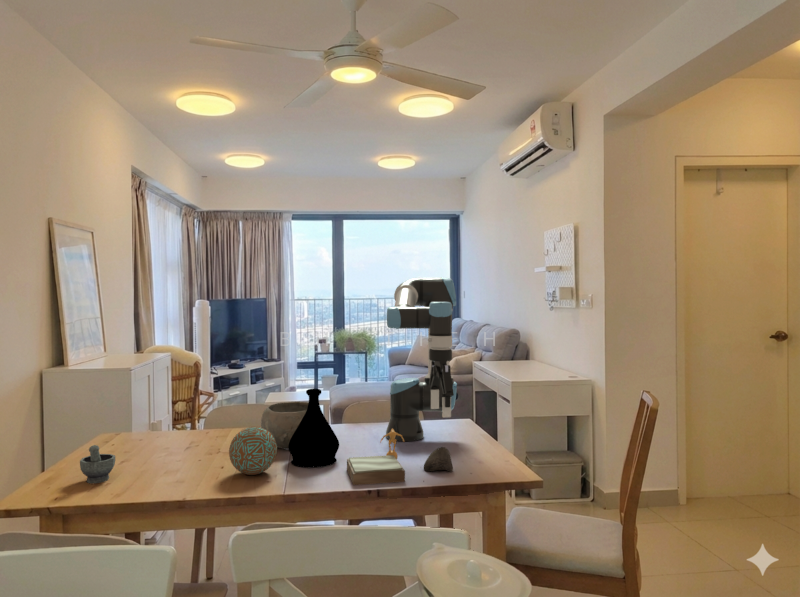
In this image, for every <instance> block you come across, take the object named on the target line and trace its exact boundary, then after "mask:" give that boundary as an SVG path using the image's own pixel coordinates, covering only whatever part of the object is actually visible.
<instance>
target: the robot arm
mask: <svg viewBox="0 0 800 597" xmlns="http://www.w3.org/2000/svg"><path fill="white" fill-rule="evenodd" d="M393 295H394V296H393V297H394V298H393V299H394V302H395V303H394V306H389V307H387V308H386V326H387V327H388V329H396V330H399V329H400V330H401V329H403V330H404V329H405V330H406V329H409V330H410V329H413V330H415V329H421V330H422V329H424V330H425V329H427V330H428V331H427V334H428V336H427V341H428V342H427V346H428V347H427V348H428V350H427V352H428V353H427V354H428V357H427V361H428V362H427V363H428V364H427V367H428V369H427V370H428V372H427V374H426V375H425V376H424V381H420V379H419V378H418V377H407V378H401V379H395V380H393V381H392V382H391V384H390V388H389V390H390V392H389V395H390V397H389V398H390V411H389V412H390V416H389V421H388V424H387V428H386V430H385V435H386V434H388V433H390V432H391V429H394V431H395V432H396V433H398V434H400V435H402V437H403V439H404V441H403V439H402V438H401V436H398V435H396V436H395V439H396V442H415V441H419V440H422V439H423V438H424V428H423V425H422V422H421V419H420V412H441V414H442V415H441V416H442V418H451V417H452V411H453V410H454V408H455V404H456V400H457V399H456V398H457V390H458V388H457V386H458V383H457V382H456V381H454V376H453V375H452V371H451V369H452V368H451V365H450V361H452V360H453V350H452V349H451V348H453V311H454V310H453V309H454V307H456V306H457V293H456V288H455V284H454V280H453V279H452V278H450V277H413V278H410V279H407V280H405V281H404V282H403V281H402V282H401V283H399V285H397V287H396V289H395V290H394V294H393ZM385 438H386V439H387V440H389V439H390V436H389V435H388V436H386V437H385ZM395 439H394V440H395ZM390 440H391V439H390Z"/></svg>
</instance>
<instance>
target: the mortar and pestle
mask: <svg viewBox="0 0 800 597" xmlns="http://www.w3.org/2000/svg"><path fill="white" fill-rule="evenodd" d="M88 451H89V454H90V455H88V456H84V457H82V458H81V459H80V460H79V467H80V471H81V473H82V474H83V475H84V476H86V483H87V484H99V483H100V484H101V483H105V482H106V481H109V479H110V475H109V474H110V473H111V472H112V470H113V469H114V467H115V465H116V464H115V463H116V455H114V454H112V453H100V447H99V445H97V444H96V445H95V444H93V445H91V446H90V447H89V448H88Z"/></svg>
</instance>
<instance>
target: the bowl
mask: <svg viewBox="0 0 800 597" xmlns="http://www.w3.org/2000/svg"><path fill="white" fill-rule="evenodd" d="M308 403H309V401H288V402H278V403H277V402H276V403H273V404H270V405H269V406H267V407H266V408H265V409H264V411H263V412H262V416H261V421H260V427H261V428H263V429H265V430H267V431H269V432H270V433H271V435H273V437H274V439H275V441H276V444H277V449H286V450H289V448H288V445H289V442H290V439H291V437H292V436H293V434H294V432H295V430H296V429H297V427H298V425H299V424H300V422H301V420H302V418H303V417H304V415H305V413H306V411H307V408H308Z"/></svg>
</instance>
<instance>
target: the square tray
mask: <svg viewBox="0 0 800 597" xmlns="http://www.w3.org/2000/svg"><path fill="white" fill-rule="evenodd" d="M346 470H347V473H348V476H349V479H350V481H351V482H352V483H351V484H352V485H353V486H360V485H361V486H362V485H376V484H388V483H389V484H390V483H404V482H406V470H405V468H404V467H403V466H402V464H401V463H400V462H399V460H398V458H397V459H396V458H395V456H393V455H386V454H385V455H373V456H372V455H371V456H356V457H354V456H353V457H349V458H347V459H346Z"/></svg>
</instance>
